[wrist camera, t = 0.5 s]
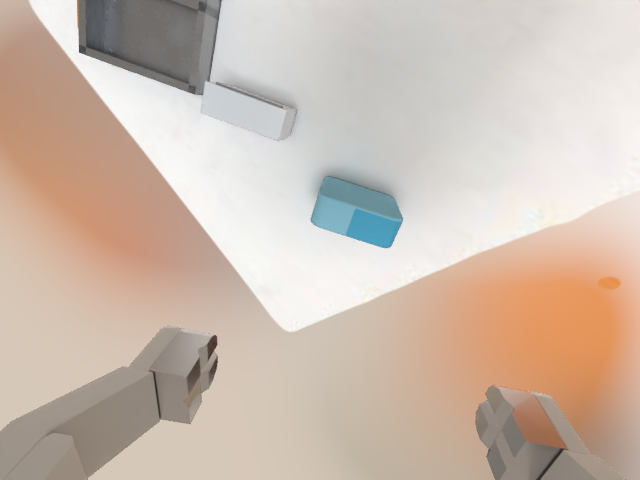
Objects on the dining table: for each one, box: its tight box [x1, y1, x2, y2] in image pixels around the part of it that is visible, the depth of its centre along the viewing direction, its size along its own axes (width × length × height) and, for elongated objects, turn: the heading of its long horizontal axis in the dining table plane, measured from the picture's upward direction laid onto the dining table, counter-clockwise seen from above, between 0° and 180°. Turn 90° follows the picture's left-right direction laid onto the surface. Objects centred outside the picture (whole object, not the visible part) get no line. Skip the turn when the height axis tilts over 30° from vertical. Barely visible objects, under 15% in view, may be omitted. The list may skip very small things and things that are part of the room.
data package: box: [311, 177, 403, 248], centre depth 46 cm, size 12×4×12 cm, turn 73°
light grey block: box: [201, 81, 297, 141], centre depth 43 cm, size 4×11×8 cm, turn 72°
